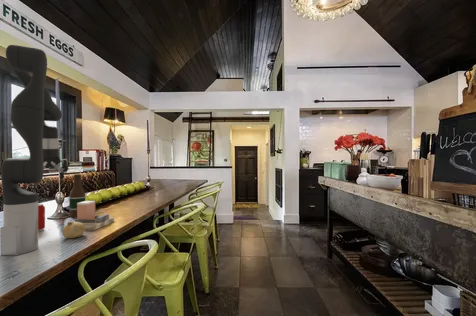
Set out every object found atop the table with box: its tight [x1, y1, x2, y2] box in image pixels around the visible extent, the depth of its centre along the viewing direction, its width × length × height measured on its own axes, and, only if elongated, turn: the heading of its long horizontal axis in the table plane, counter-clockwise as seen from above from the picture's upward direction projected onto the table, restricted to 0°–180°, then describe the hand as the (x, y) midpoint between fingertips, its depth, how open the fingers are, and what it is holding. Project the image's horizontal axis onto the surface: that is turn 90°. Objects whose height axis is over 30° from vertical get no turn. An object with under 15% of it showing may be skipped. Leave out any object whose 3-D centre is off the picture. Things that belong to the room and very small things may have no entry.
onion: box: [61, 220, 86, 239], centre depth 99 cm, size 8×8×7 cm
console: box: [63, 213, 115, 232], centre depth 116 cm, size 16×14×4 cm
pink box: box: [76, 200, 96, 220], centre depth 118 cm, size 6×5×9 cm
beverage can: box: [38, 203, 46, 233], centre depth 108 cm, size 6×6×12 cm
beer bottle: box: [68, 173, 86, 218], centre depth 136 cm, size 8×8×24 cm
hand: (51, 179), depth 117 cm, fingers open, 8 cm apart
